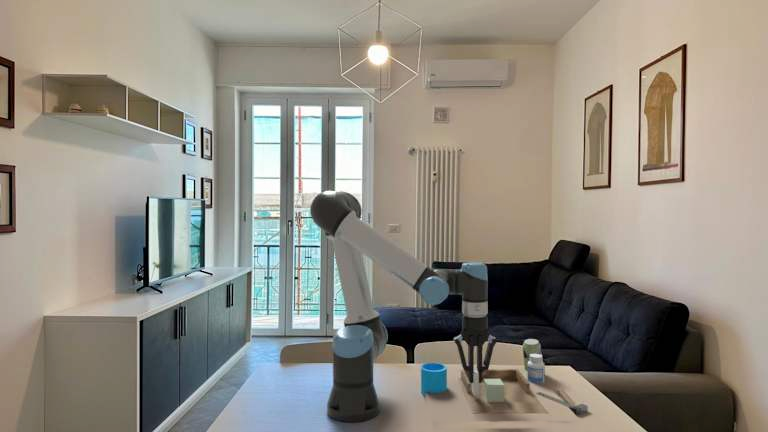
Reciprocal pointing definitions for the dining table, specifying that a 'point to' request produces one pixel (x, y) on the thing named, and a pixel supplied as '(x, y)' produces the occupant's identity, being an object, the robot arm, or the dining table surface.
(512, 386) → the cubby deck
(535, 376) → the pill bottle
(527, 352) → the beverage can
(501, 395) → the block
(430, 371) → the mug
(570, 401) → the dowel
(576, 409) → the crook tool
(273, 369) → the dining table surface
